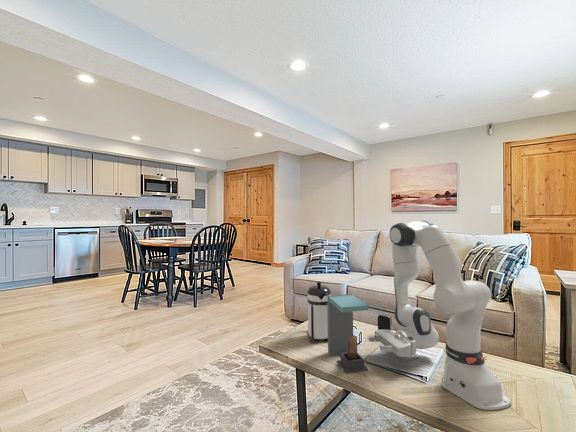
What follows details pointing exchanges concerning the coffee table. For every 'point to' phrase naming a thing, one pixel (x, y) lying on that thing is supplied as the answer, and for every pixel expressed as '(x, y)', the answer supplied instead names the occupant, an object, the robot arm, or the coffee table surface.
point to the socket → (351, 363)
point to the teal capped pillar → (341, 320)
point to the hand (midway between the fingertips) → (375, 343)
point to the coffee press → (318, 312)
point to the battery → (384, 322)
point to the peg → (352, 347)
